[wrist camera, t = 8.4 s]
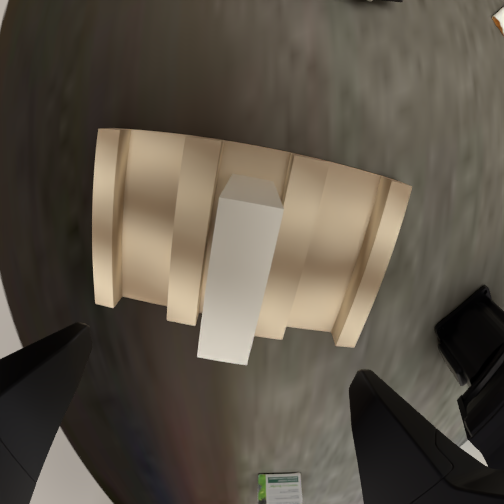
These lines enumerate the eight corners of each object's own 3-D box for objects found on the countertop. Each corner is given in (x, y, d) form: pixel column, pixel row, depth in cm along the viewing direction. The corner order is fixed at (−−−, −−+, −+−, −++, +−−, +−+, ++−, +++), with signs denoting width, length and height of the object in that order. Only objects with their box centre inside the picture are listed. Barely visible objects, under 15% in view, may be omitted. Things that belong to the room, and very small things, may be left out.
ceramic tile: (273, 181, 18) (284, 209, 12) (249, 295, 21) (246, 365, 15) (232, 173, 18) (219, 197, 11) (213, 289, 21) (197, 357, 14)
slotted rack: (113, 128, 17) (98, 128, 15) (397, 180, 18) (412, 186, 16) (107, 289, 22) (95, 303, 20) (347, 330, 23) (354, 347, 21)
